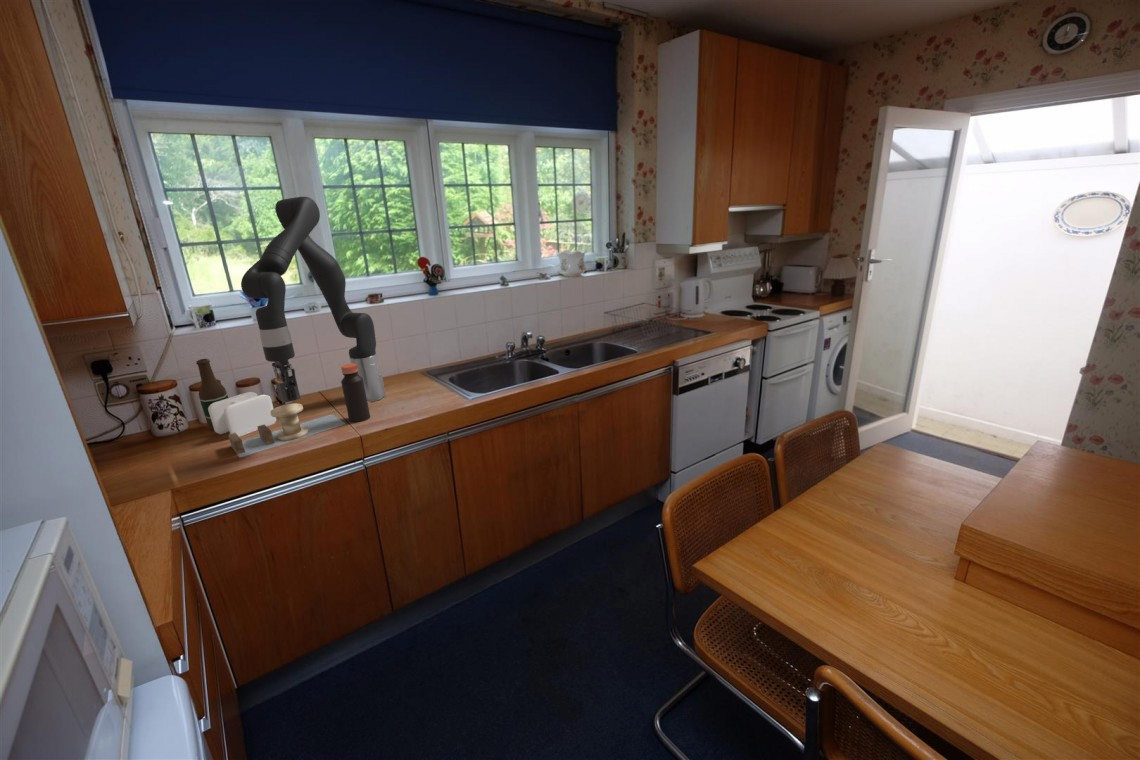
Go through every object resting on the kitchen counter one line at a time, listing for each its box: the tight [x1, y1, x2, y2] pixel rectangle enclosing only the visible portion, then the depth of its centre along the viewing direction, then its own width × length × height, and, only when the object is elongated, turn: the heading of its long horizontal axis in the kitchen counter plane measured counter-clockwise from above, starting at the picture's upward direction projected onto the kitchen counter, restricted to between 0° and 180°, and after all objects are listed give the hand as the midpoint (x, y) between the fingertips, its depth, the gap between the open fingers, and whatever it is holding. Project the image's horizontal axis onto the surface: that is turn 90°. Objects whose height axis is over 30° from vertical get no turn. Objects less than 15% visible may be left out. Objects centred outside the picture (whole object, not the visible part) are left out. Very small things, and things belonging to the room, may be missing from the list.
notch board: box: [227, 425, 274, 455], centre depth 153 cm, size 10×8×4 cm
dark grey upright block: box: [274, 377, 301, 404], centre depth 147 cm, size 4×4×7 cm
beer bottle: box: [195, 358, 229, 431], centre depth 168 cm, size 8×8×24 cm
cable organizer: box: [208, 391, 277, 438], centre depth 165 cm, size 15×11×12 cm
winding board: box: [236, 414, 347, 459], centre depth 160 cm, size 31×13×1 cm, turn 134°
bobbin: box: [270, 403, 309, 441], centre depth 158 cm, size 9×9×9 cm
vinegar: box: [340, 362, 371, 424], centre depth 167 cm, size 7×7×20 cm
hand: (290, 398), depth 148 cm, fingers closed on dark grey upright block, 4 cm apart
